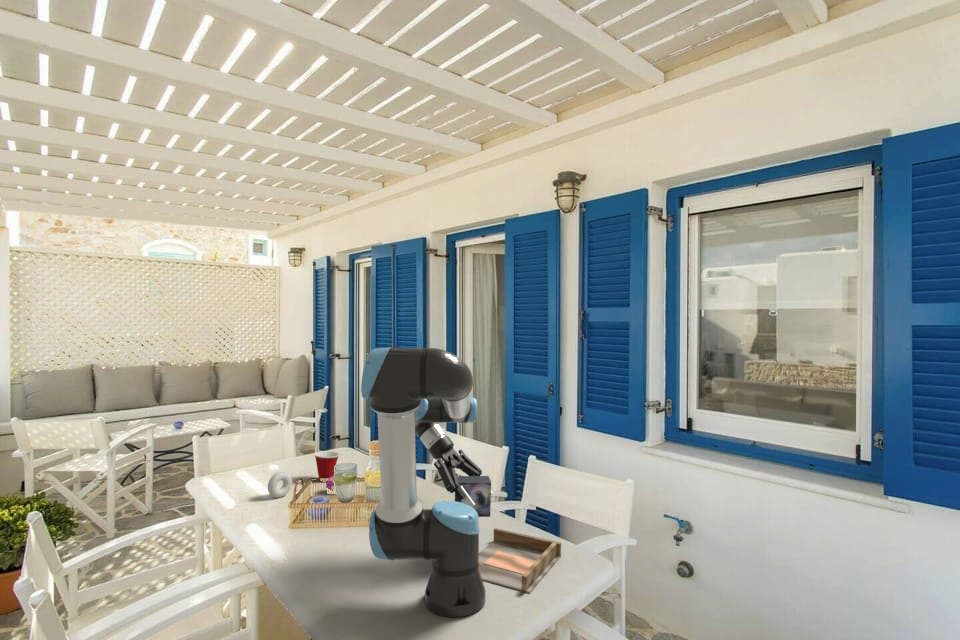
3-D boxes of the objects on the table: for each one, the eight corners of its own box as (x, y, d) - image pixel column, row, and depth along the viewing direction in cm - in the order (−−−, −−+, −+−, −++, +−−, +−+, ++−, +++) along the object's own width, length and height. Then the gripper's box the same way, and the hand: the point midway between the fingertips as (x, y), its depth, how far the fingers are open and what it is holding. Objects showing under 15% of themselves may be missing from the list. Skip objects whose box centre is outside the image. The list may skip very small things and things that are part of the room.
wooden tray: (529, 593, 128) (529, 578, 128) (456, 572, 139) (456, 558, 139) (561, 556, 149) (561, 542, 149) (495, 540, 160) (495, 528, 160)
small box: (455, 518, 146) (455, 482, 147) (453, 510, 153) (454, 475, 153) (491, 517, 148) (491, 481, 148) (488, 509, 154) (488, 475, 154)
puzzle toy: (326, 494, 202) (326, 480, 202) (330, 490, 208) (331, 476, 208) (339, 495, 202) (340, 481, 202) (344, 490, 208) (344, 476, 208)
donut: (288, 493, 204) (289, 468, 204) (293, 494, 202) (293, 469, 202) (265, 499, 196) (265, 474, 196) (270, 501, 194) (270, 475, 194)
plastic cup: (339, 483, 217) (340, 455, 217) (313, 485, 214) (313, 457, 214) (339, 475, 228) (339, 449, 228) (314, 477, 225) (314, 450, 225)
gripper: (449, 442, 168) (490, 497, 160) (408, 458, 148) (453, 521, 140) (463, 428, 166) (505, 483, 158) (423, 442, 145) (469, 506, 138)
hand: (481, 501), depth 149 cm, fingers closed on small box, 10 cm apart
